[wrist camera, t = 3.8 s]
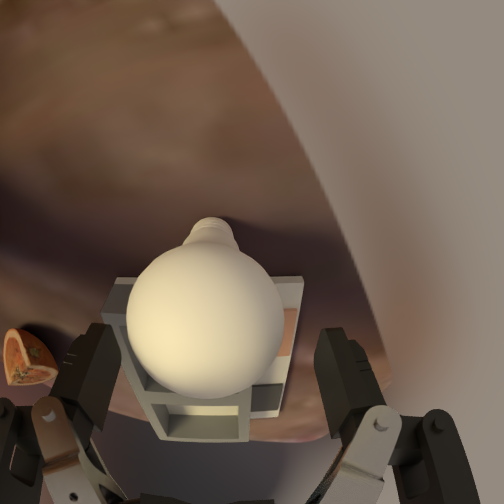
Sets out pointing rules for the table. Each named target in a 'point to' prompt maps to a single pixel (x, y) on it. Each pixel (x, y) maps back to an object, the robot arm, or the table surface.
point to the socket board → (205, 410)
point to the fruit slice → (27, 359)
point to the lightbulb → (205, 316)
